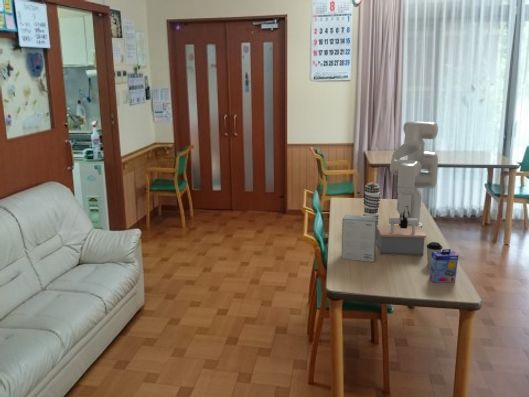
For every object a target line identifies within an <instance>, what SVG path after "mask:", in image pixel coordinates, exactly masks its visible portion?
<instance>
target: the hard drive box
mask: <svg viewBox="0 0 529 397" xmlns="http://www.w3.org/2000/svg"><path fill="white" fill-rule="evenodd" d="M341 226H342V227H341V228H342V229H341V233H342V234H341V259H343V260H344V259H345V260H350V261H351V260H352V261H354V260H355V261H360V262H370V263H374V262H375V261H376V259H377V258H376V257H377V217H372V216H363V215H359V214H358V215H357V214H356V215H354V214H344V215H343V217H342V225H341Z"/></svg>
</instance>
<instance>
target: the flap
mask: <svg viewBox="0 0 529 397" xmlns="http://www.w3.org/2000/svg"><path fill="white" fill-rule="evenodd" d="M400 222H401V218H400V217H389V218H388V224H378V225H377V229H378V231H379V233H380V235H381V237H418V238H426V239H427V234H426V233H425V231H424V230H423V228H422V227H420V226H415V224H418V219H416V218H408V224H412V226H407V228H400V226H399V224H400Z"/></svg>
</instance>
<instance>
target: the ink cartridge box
mask: <svg viewBox="0 0 529 397" xmlns="http://www.w3.org/2000/svg"><path fill="white" fill-rule="evenodd" d="M458 262H459V255H458V253H456V252H455V251H453V250H452V249H451V248H449V249H447V248H446V249H444V248H442V250H441V251H435V252H432V255H431V266H429V279H430V280H431V281H432V282H433V283H455V282H456V278H457V269H458Z"/></svg>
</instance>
